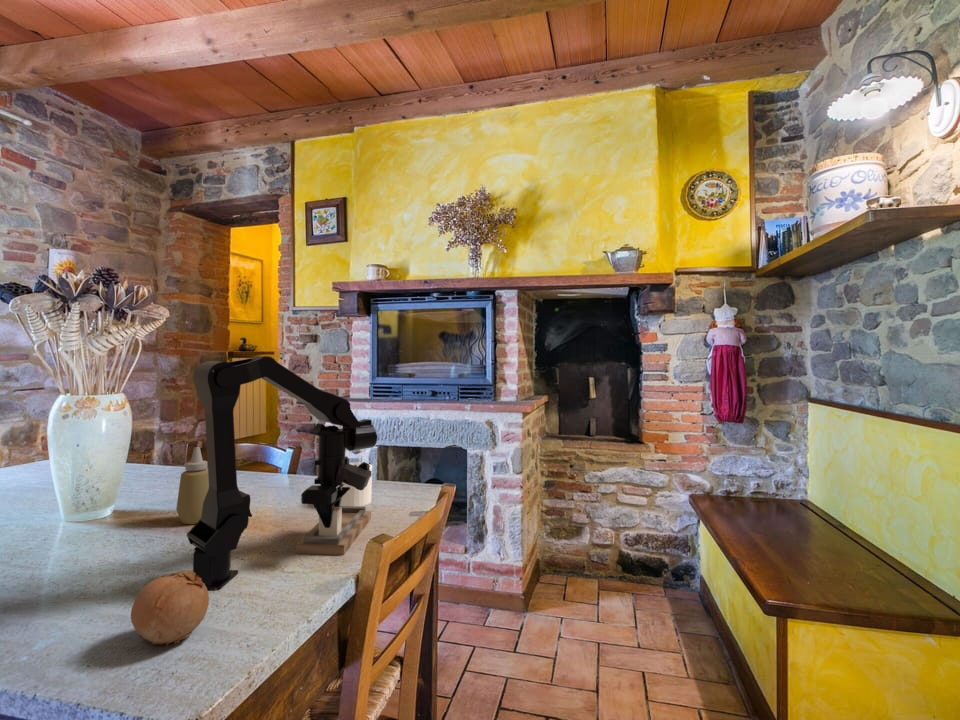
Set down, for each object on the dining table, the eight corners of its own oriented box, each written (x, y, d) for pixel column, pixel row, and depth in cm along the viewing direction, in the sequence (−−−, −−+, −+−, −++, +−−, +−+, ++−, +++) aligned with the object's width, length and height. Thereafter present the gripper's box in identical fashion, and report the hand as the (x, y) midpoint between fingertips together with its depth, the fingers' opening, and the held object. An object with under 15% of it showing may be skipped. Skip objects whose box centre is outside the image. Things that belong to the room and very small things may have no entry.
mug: (376, 505, 132) (377, 468, 132) (340, 510, 127) (341, 472, 127) (361, 493, 143) (362, 459, 143) (327, 498, 137) (328, 462, 137)
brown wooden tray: (344, 554, 98) (344, 539, 98) (296, 553, 99) (296, 537, 99) (371, 519, 120) (371, 506, 120) (331, 517, 121) (332, 505, 121)
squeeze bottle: (168, 522, 115) (170, 448, 115) (201, 513, 122) (203, 443, 122) (188, 529, 111) (190, 452, 111) (221, 519, 118) (222, 446, 118)
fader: (336, 536, 103) (337, 510, 103) (318, 535, 103) (319, 510, 103) (341, 531, 106) (341, 506, 106) (323, 530, 106) (323, 505, 106)
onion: (197, 644, 72) (231, 577, 75) (168, 666, 63) (208, 588, 66) (137, 622, 72) (174, 555, 75) (99, 640, 63) (143, 563, 66)
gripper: (356, 464, 95) (354, 542, 95) (378, 447, 114) (376, 512, 114) (301, 462, 95) (299, 540, 95) (332, 445, 114) (330, 510, 114)
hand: (330, 524), depth 104 cm, fingers open, 3 cm apart
